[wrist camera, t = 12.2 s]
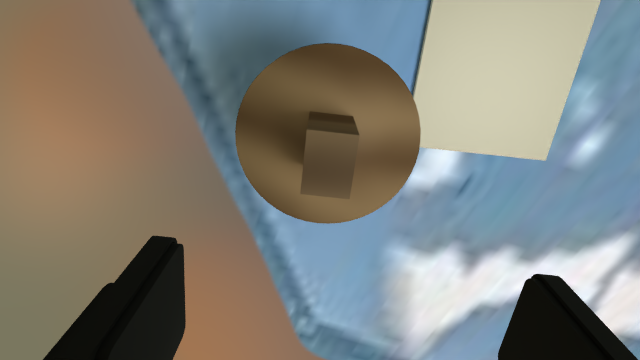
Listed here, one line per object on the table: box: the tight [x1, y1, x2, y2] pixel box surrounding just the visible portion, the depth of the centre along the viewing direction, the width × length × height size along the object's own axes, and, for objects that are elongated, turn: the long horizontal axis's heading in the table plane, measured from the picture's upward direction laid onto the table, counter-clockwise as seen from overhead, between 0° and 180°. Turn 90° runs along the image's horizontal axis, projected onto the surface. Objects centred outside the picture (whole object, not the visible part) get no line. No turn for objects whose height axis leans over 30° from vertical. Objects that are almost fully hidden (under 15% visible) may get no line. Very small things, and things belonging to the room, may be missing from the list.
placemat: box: [412, 0, 601, 161], centre depth 36 cm, size 20×15×1 cm
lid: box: [235, 43, 421, 223], centre depth 25 cm, size 13×13×6 cm
